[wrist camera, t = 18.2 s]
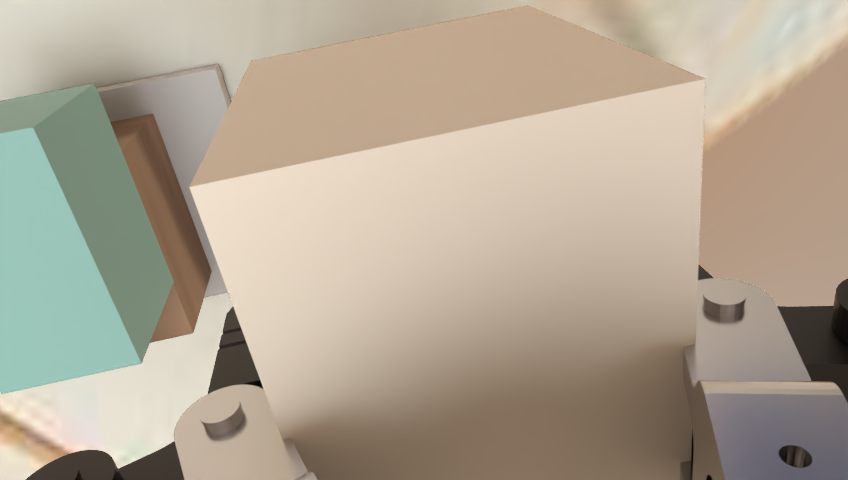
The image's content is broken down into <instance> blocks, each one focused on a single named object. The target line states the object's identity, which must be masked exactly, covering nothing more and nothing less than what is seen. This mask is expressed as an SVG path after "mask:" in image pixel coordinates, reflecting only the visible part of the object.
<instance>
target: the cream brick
mask: <svg viewBox="0 0 848 480" xmlns="http://www.w3.org/2000/svg"><path fill="white" fill-rule="evenodd" d="M705 82H706V79H705V78H702V77H700V76H697V75H695V74H693V73H690V72H688V71H685V70H683V69H680V68H678V67H676V66H673V65H671V64H668V63H666V62H663V61H661V60H659V59H656V58H654V57H651V56H649V55H646V54H644V53H641V52H639V51H637V50H634V49H632V48H629V47H627V46H624V45H622V44H620V43H617V42H615V41H612V40H610V39H607V38H605V37H603V36H600V35H598V34H595V33H593V32H590V31H588V30H585V29H583V28H581V27H578V26H576V25H573V24H571V23H568V22H566V21H564V20H561V19H559V18H556V17H554V16H551V15H549V14H547V13H544V12H542V11H539V10H537V9H534V8H532V7H529V6H523V7H518V8H513V9H508V10H503V11H498V12H493V13H488V14H483V15H478V16H473V17H468V18H463V19H458V20H453V21H448V22H443V23H438V24H433V25H428V26H423V27H418V28H413V29H408V30H403V31H398V32H393V33H388V34H383V35H378V36H373V37H368V38H363V39H358V40H353V41H348V42H343V43H338V44H334V45H329V46H324V47H319V48H314V49H309V50H304V51H299V52H294V53H289V54H284V55H279V56H274V57H269V58H264V59H259V60H254V61H251V63H250V65H249V67H248V69H247V71H246V73H245V75H244V77H243V79H242V81H241V83H240V85H239V87H238V89H237V91H236V93H235V95H234V97H233V99H232V101H231V103H230V106H229V108H228V110H227V112H226V114H225V116H224V118H223V120H222V122H221V124H220V126H219V128H218V130H217V132H216V134H215V136H214V138H213V140H212V142H211V144H210V146H209V148H208V150H207V152H206V154H205V156H204V158H203V160H202V162H201V164H200V166H199V168H198V170H197V172H196V174H195V176H194V178H193V180H192V182H191V185H190V187H189V188H190V191H191V193H192V196H193V199H194V201H195V204H196V207H197V210H198V212H199V215H200V218H201V220H202V223H203V226H204V229H205V231H206V234H207V237H208V239H209V242H210V245H211V248H212V250H213V253H214V256H215V258H216V261H217V264H218V267H219V269H220V272H221V275H222V277H223V280H224V283H225V286H226V288H227V291H228V294H229V296H230V299H231V302H232V305H233V307H234V310H235V313H236V315H237V318H238V321H239V324H240V326H241V329H242V332H243V334H244V337H245V340H246V343H247V345H248V348H249V351H250V353H251V356H252V359H253V362H254V364H255V367H256V370H257V372H258V375H259V378H260V381H261V383H262V386H263V389H264V391H265V394H266V397H267V400H268V402H269V405H270V408H271V410H272V413H273V416H274V419H275V421H276V424H277V427H278V429H279V432H280V435H281V438H282V439H286V438H290V437H291V439H292V441H293V443H294V445H295V447H296V449H297V451H298V453H299V455H300V457H301V459H302V461H303V463H304V465H305V467H306V469H307V471H308V472H310V471H312V472H313V473H314V474H315V476H316V478H317V479H318V480H680V463H681V462H685V461H690V460H691V450H692V420H691V413H690V408H689V404H688V399H687V394H686V389H685V385H684V380H683V347H684V346H688V345H693V344H696V318H697V292H698V266H699V239H700V212H701V187H702V186H701V185H702V160H703V159H702V158H703V134H704V108H705Z"/></svg>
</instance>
